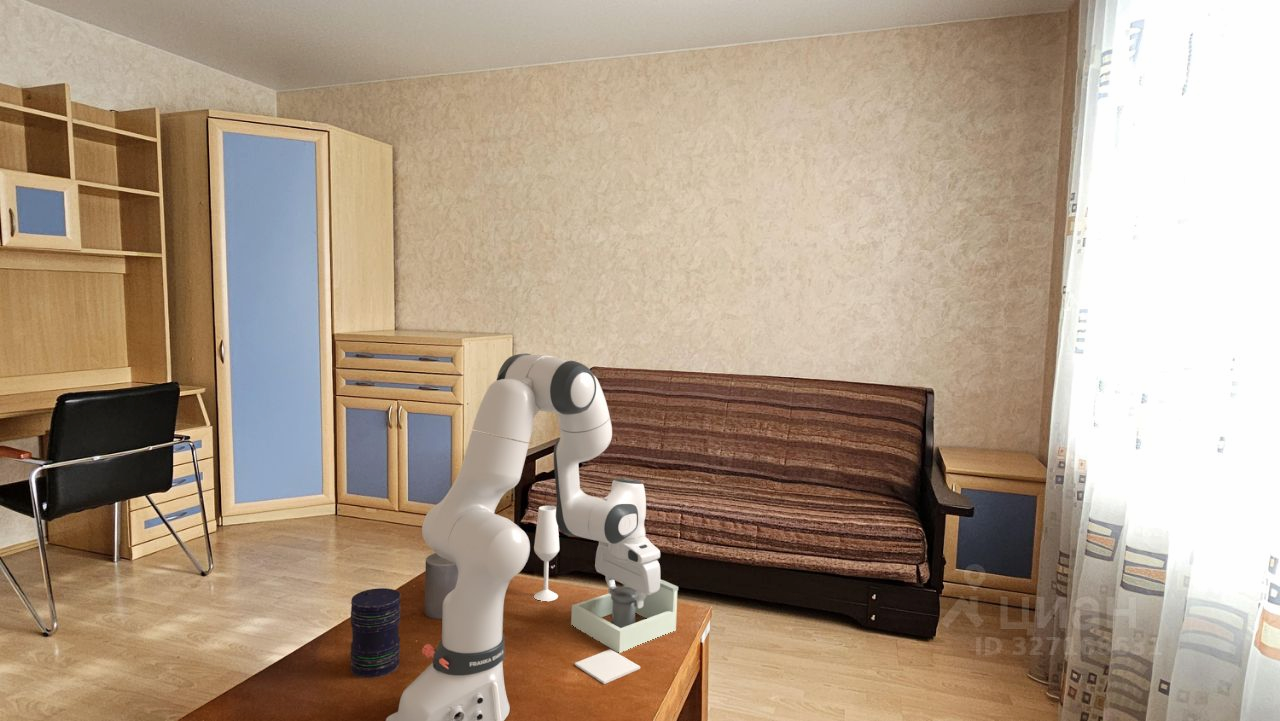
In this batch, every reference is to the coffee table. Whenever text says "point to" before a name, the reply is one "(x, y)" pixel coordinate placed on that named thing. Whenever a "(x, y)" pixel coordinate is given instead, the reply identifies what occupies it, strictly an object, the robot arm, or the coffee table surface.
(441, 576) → the pillar candle
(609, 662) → the mat
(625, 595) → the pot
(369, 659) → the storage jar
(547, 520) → the champagne flute
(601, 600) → the frame
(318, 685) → the coffee table surface
